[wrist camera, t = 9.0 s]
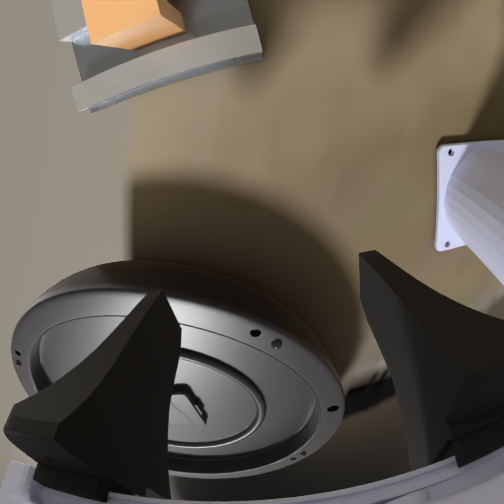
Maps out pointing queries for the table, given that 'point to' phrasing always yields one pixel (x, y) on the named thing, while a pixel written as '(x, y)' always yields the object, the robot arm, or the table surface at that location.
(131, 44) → the orange notched block
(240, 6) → the slotted rail
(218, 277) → the grey bolted disc
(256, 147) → the table surface
